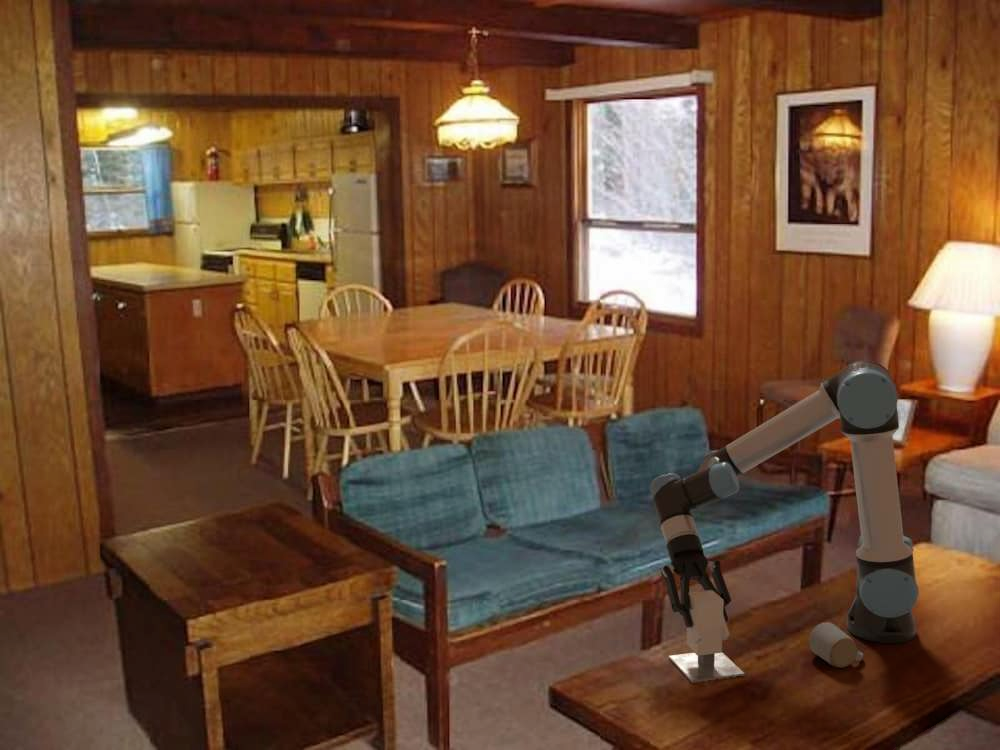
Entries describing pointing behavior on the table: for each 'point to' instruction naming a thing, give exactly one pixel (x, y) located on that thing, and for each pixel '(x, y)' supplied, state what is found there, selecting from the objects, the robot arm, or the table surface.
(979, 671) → the table surface
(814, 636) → the ceramic mug
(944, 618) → the table surface
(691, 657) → the square base plate
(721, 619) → the beige square prism
